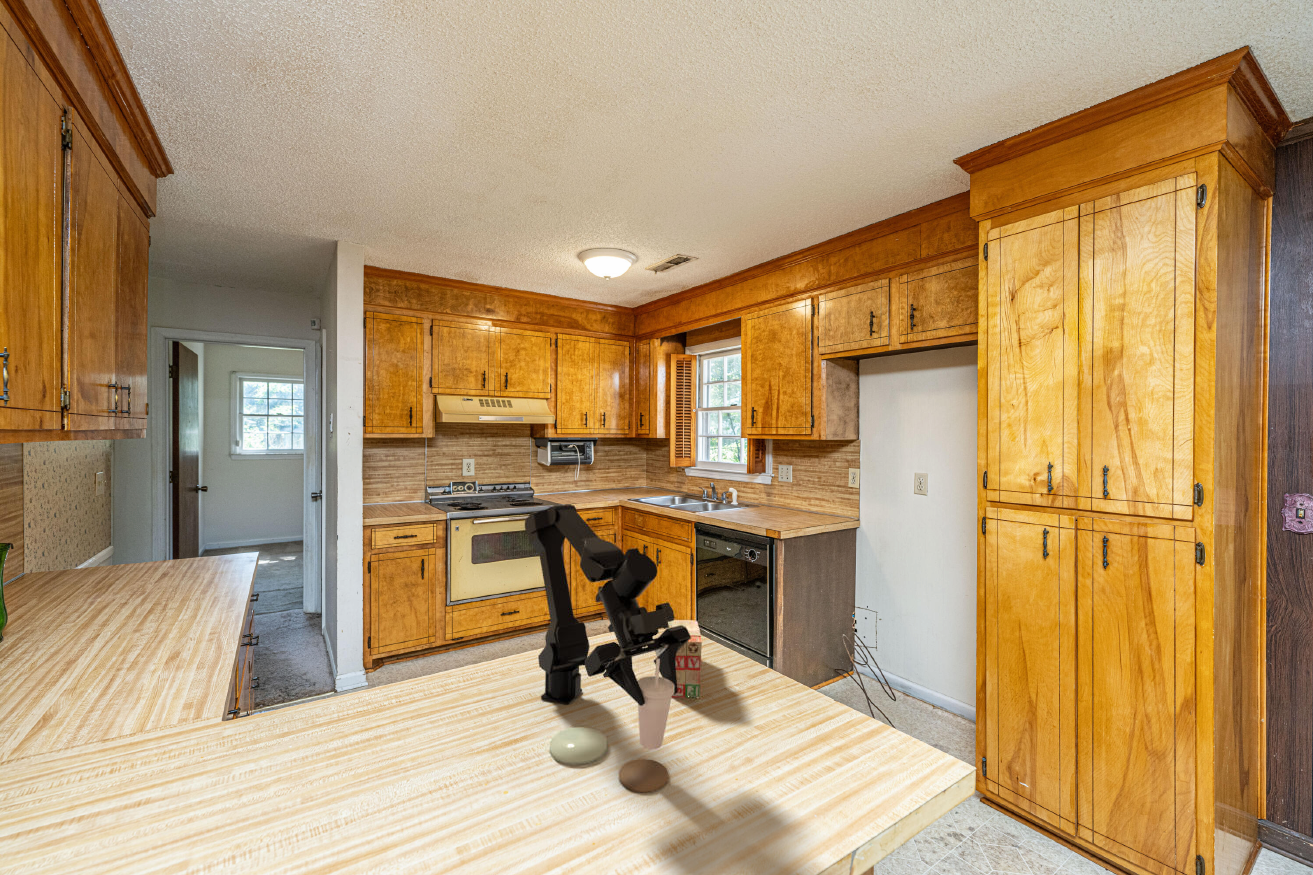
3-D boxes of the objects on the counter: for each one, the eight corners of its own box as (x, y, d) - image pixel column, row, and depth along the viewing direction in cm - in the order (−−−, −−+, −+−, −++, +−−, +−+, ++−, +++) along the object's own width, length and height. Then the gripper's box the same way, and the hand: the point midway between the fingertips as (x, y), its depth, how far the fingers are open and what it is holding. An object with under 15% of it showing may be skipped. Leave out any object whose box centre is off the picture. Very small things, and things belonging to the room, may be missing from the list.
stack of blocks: (668, 656, 142) (670, 607, 142) (694, 657, 142) (695, 607, 142) (670, 698, 121) (671, 639, 120) (700, 699, 121) (701, 640, 120)
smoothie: (635, 754, 90) (641, 665, 90) (628, 733, 97) (634, 650, 97) (674, 752, 92) (681, 665, 92) (665, 732, 98) (671, 650, 98)
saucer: (538, 757, 98) (538, 751, 98) (566, 728, 107) (566, 722, 107) (591, 770, 95) (592, 764, 95) (616, 739, 104) (616, 733, 104)
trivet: (610, 785, 91) (611, 781, 91) (629, 758, 98) (629, 754, 98) (658, 797, 88) (658, 793, 88) (674, 768, 96) (674, 765, 96)
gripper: (596, 597, 91) (633, 693, 83) (686, 580, 102) (727, 663, 94) (570, 630, 98) (603, 723, 89) (657, 611, 109) (694, 691, 101)
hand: (659, 698), depth 93 cm, fingers closed on smoothie, 6 cm apart
